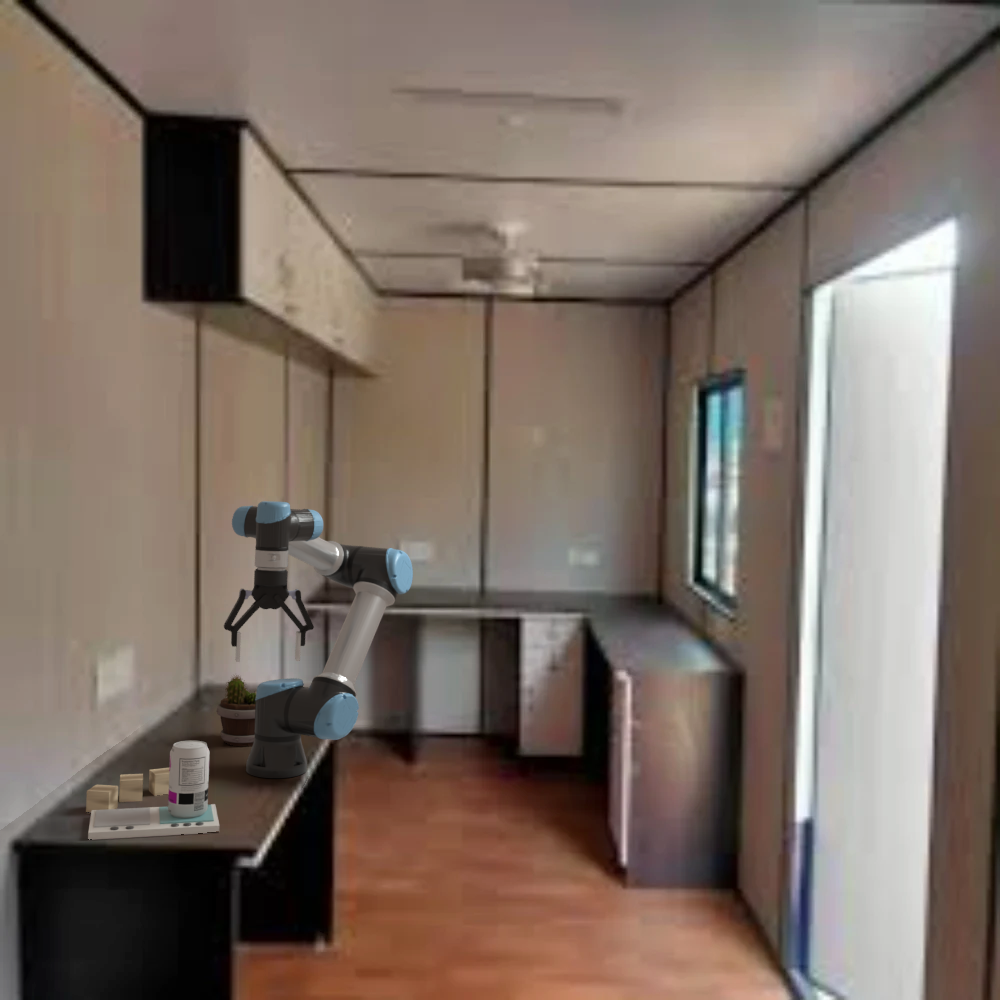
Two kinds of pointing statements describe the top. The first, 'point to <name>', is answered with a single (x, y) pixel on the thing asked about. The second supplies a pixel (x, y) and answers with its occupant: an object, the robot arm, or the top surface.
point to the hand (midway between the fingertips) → (267, 660)
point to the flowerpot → (237, 714)
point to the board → (148, 823)
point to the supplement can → (188, 779)
